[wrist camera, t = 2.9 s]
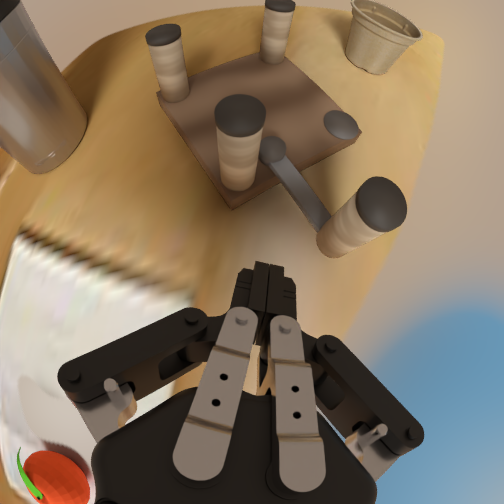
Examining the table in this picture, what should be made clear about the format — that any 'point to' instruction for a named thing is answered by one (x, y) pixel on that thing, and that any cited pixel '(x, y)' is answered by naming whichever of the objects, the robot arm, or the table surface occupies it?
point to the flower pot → (378, 36)
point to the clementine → (54, 479)
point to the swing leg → (349, 215)
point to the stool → (248, 108)
